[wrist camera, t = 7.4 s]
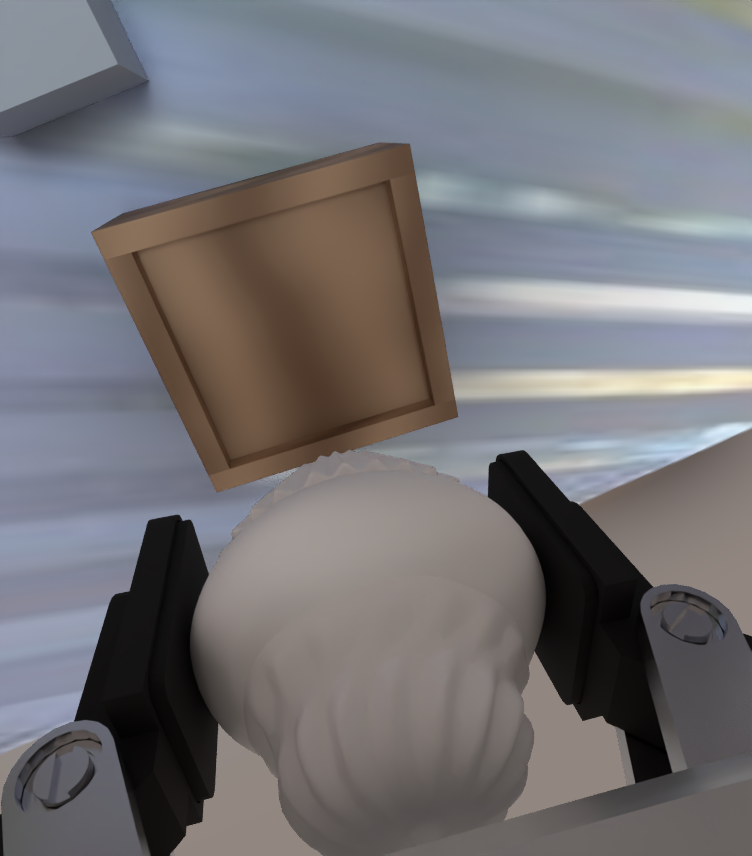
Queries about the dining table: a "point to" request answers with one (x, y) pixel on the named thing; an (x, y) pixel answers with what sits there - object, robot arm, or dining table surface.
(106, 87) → the slate block
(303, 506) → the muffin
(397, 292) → the brown wooden box
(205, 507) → the dining table surface
